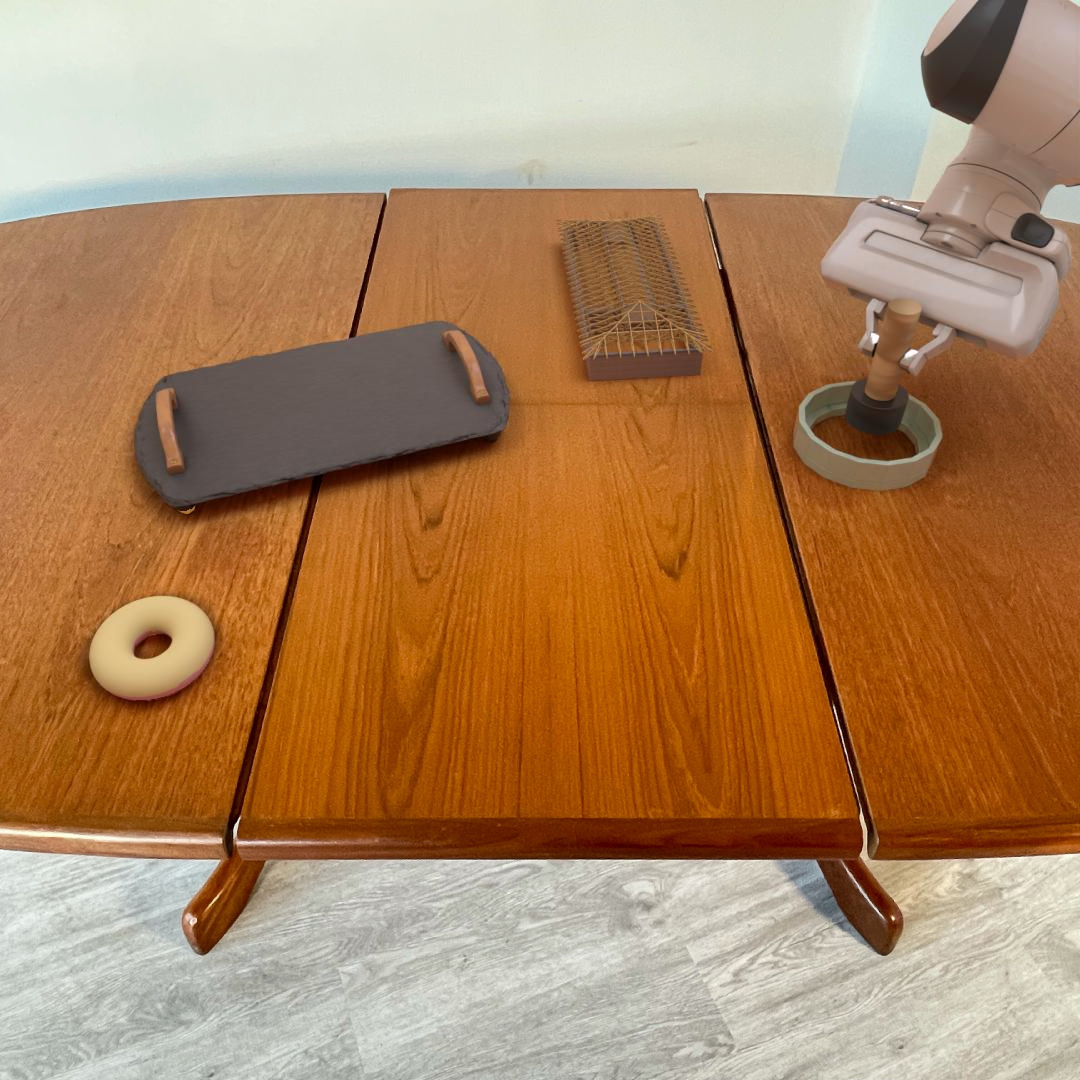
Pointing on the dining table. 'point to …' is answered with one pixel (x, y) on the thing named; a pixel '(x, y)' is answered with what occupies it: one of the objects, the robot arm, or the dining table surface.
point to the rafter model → (636, 314)
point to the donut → (160, 673)
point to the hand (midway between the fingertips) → (886, 362)
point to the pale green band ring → (859, 471)
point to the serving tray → (317, 411)
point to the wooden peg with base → (885, 374)
